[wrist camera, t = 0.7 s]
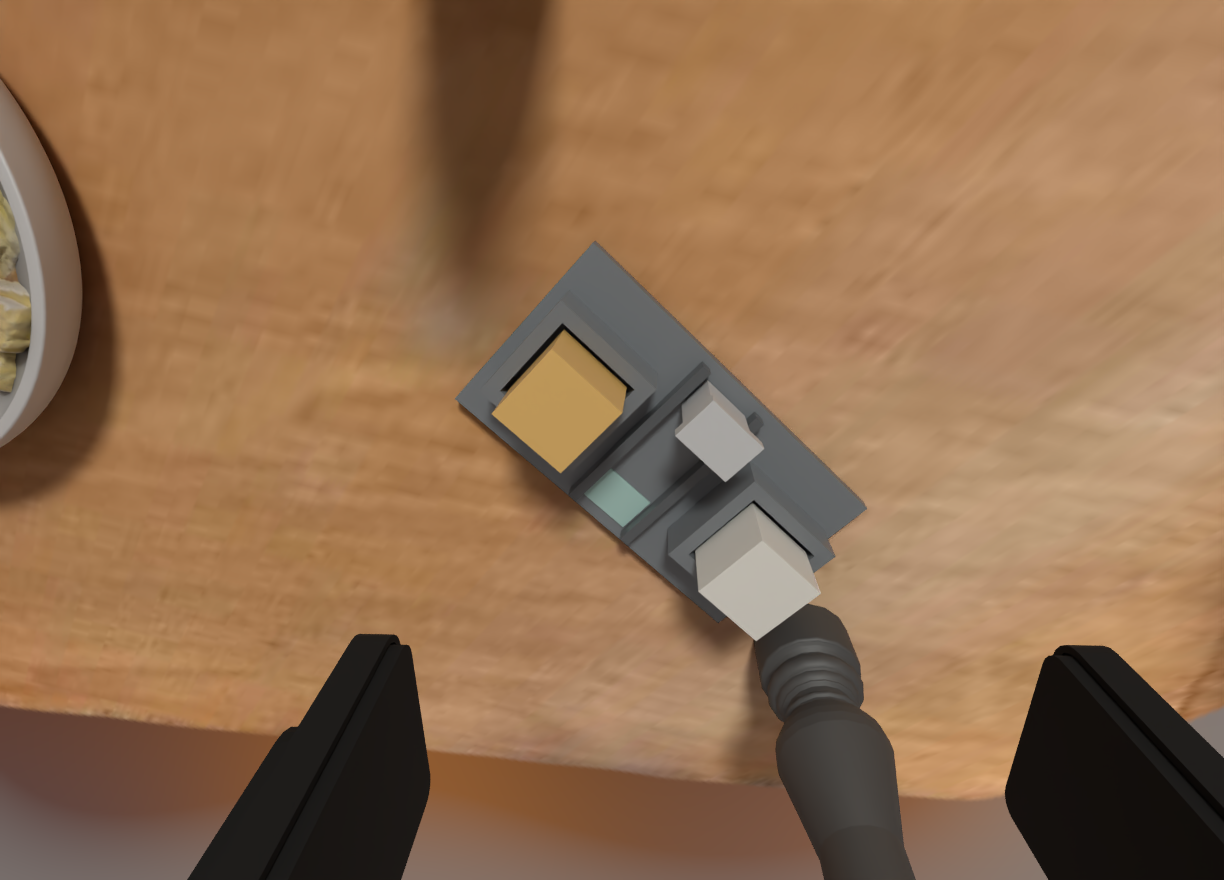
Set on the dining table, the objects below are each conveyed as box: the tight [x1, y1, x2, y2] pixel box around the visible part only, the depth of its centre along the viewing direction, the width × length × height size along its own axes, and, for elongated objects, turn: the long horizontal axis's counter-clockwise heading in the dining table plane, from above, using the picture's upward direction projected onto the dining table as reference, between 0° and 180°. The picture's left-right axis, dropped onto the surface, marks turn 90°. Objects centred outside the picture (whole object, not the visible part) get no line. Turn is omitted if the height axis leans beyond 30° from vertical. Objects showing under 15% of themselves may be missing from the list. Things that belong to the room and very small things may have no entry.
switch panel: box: [455, 241, 867, 623], centre depth 37 cm, size 12×22×4 cm, turn 47°
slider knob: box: [675, 380, 764, 482], centre depth 34 cm, size 3×4×5 cm
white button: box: [695, 503, 821, 641], centre depth 35 cm, size 4×4×4 cm
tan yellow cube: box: [492, 329, 627, 473], centre depth 32 cm, size 4×4×4 cm
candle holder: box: [754, 604, 916, 880], centre depth 32 cm, size 6×6×25 cm
